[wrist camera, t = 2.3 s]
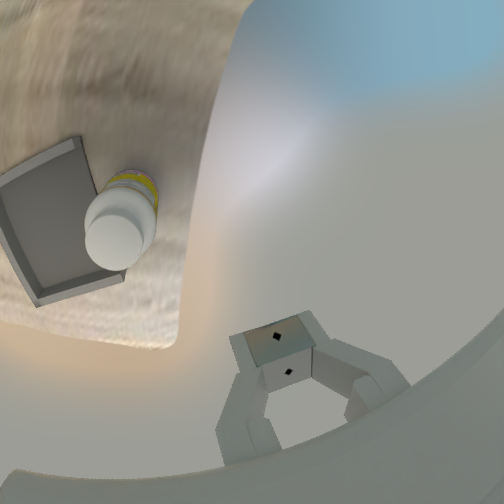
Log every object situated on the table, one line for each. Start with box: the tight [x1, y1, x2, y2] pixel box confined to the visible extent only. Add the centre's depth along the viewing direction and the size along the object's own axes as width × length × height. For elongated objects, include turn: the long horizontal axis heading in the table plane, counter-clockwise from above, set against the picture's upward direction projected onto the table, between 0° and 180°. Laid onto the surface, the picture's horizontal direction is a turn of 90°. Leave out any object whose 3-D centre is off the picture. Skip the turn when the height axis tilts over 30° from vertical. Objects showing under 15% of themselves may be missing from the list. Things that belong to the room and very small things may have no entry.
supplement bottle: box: [84, 170, 158, 271], centre depth 24 cm, size 7×7×13 cm
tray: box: [0, 136, 126, 308], centre depth 26 cm, size 15×18×3 cm
